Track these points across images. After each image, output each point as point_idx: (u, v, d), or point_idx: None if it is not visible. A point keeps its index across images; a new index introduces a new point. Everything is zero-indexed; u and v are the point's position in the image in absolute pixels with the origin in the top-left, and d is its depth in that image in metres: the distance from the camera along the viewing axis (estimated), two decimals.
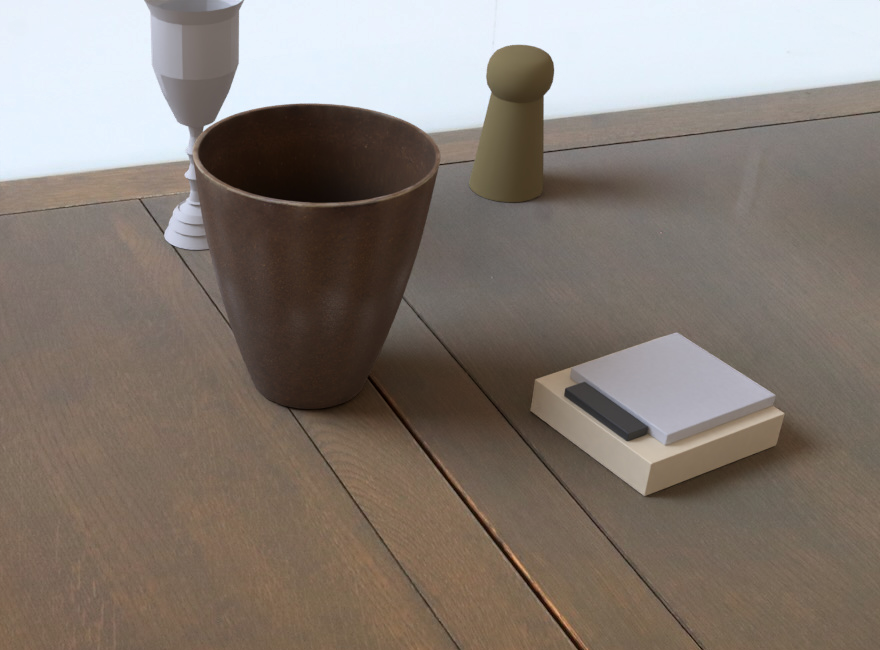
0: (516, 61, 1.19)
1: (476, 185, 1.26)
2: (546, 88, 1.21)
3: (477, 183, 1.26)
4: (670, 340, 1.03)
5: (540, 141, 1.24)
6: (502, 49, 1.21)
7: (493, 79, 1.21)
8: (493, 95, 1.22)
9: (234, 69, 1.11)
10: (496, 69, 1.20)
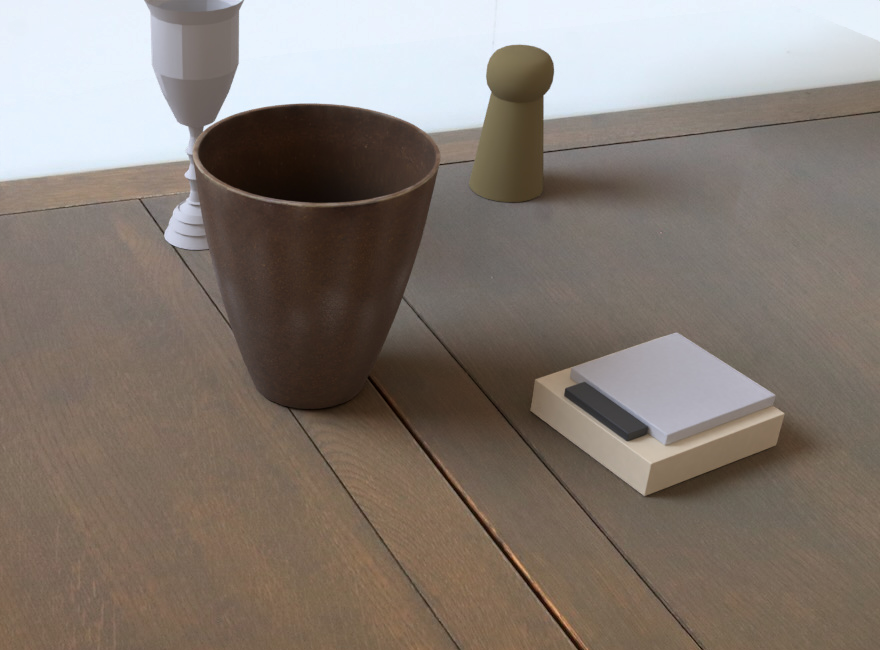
0: (515, 60, 1.19)
1: (476, 185, 1.26)
2: (546, 88, 1.21)
3: (477, 183, 1.26)
4: (670, 340, 1.03)
5: (540, 141, 1.24)
6: (502, 49, 1.21)
7: (493, 79, 1.21)
8: (493, 95, 1.22)
9: (234, 69, 1.11)
10: (496, 69, 1.20)
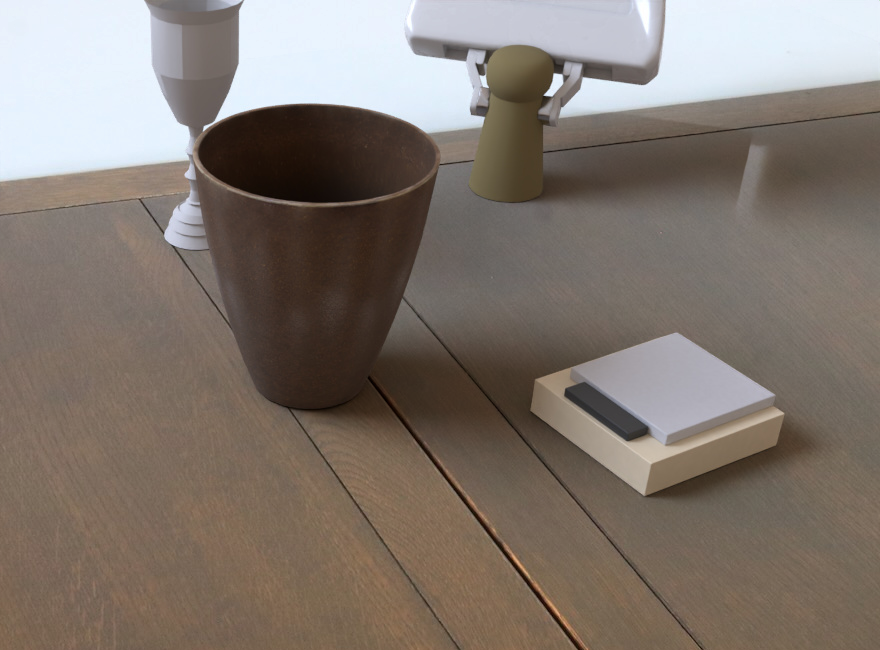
0: (515, 61, 1.19)
1: (476, 185, 1.26)
2: (545, 88, 1.21)
3: (477, 183, 1.26)
4: (670, 340, 1.03)
5: (540, 141, 1.24)
6: (502, 49, 1.21)
7: (493, 79, 1.21)
8: (493, 95, 1.22)
9: (234, 69, 1.11)
10: (495, 69, 1.20)
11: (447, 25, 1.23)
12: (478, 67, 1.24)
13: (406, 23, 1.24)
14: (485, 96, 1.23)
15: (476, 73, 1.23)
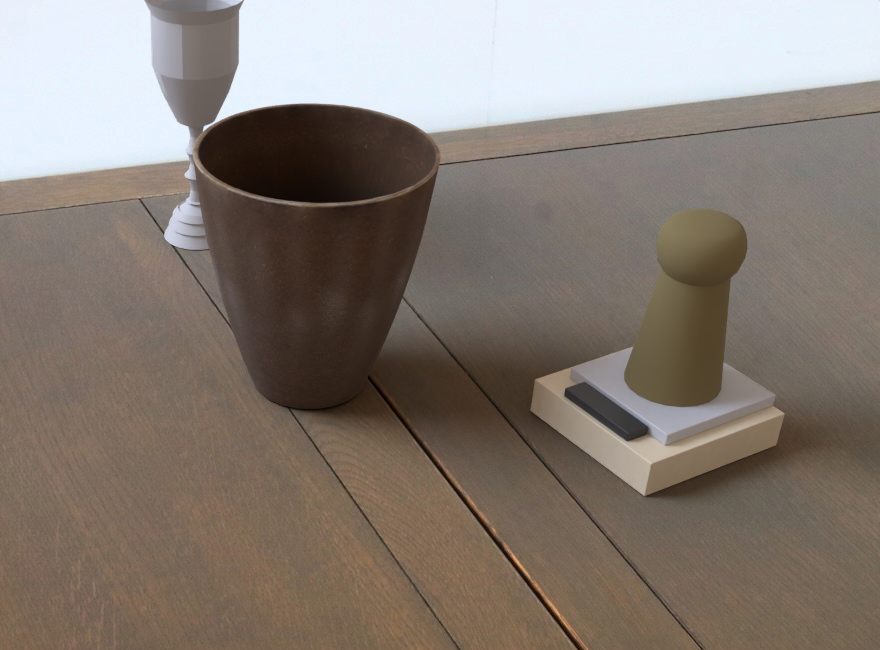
0: (700, 234, 0.91)
1: (636, 383, 0.98)
2: (737, 268, 0.92)
3: (637, 381, 0.98)
4: None
5: (723, 331, 0.95)
6: (679, 216, 0.92)
7: (668, 257, 0.92)
8: (665, 274, 0.94)
9: (234, 69, 1.11)
10: (673, 244, 0.92)
11: None
12: None
13: None
14: None
15: None
